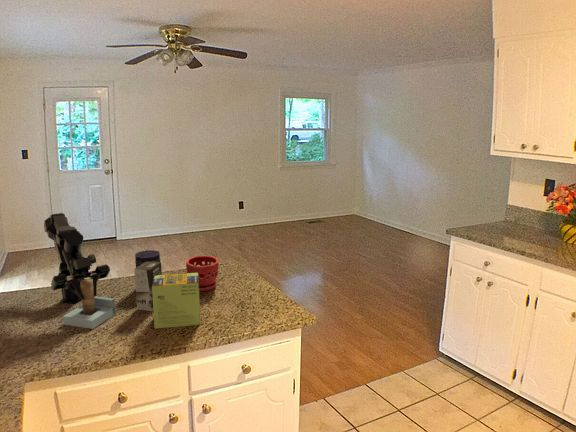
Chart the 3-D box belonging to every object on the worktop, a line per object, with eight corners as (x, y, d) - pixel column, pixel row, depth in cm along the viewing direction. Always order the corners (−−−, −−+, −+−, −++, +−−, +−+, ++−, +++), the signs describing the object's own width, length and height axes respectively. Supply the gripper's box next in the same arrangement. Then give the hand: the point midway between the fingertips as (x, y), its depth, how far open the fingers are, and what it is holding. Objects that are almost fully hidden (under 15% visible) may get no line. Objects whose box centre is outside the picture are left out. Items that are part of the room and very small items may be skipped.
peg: (81, 316, 154) (77, 282, 151) (89, 312, 158) (85, 277, 155) (90, 318, 153) (87, 283, 150) (98, 313, 157) (95, 279, 154)
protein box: (200, 325, 152) (198, 282, 149) (154, 329, 149) (151, 286, 146) (200, 312, 162) (198, 272, 159) (156, 315, 159) (153, 275, 156)
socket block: (63, 324, 152) (61, 308, 151) (87, 309, 163) (86, 294, 162) (93, 329, 149) (91, 312, 147) (115, 314, 160) (114, 298, 159)
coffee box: (152, 311, 162) (149, 269, 159) (136, 309, 164) (133, 268, 160) (164, 301, 171) (161, 261, 168) (148, 300, 172) (146, 260, 169)
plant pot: (181, 292, 180) (180, 264, 178) (195, 280, 193) (194, 254, 190) (212, 295, 178) (211, 266, 175) (223, 283, 190) (222, 256, 187)
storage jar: (152, 282, 191) (150, 248, 187) (167, 287, 185) (165, 253, 182) (132, 289, 183) (129, 254, 180) (147, 294, 177) (144, 259, 174)
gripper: (49, 253, 147) (64, 294, 142) (105, 242, 159) (121, 279, 154) (45, 270, 154) (59, 309, 149) (99, 258, 167) (113, 294, 162)
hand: (89, 297), depth 153 cm, fingers closed on peg, 4 cm apart
